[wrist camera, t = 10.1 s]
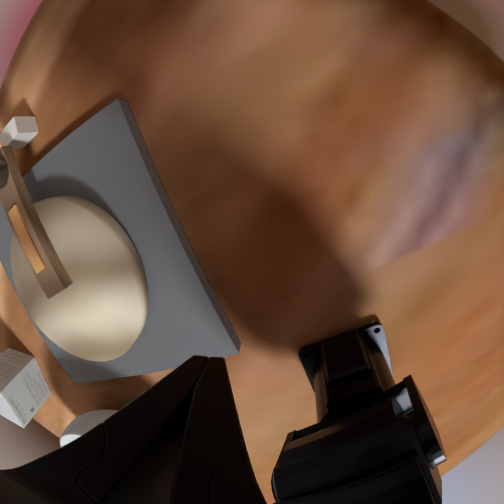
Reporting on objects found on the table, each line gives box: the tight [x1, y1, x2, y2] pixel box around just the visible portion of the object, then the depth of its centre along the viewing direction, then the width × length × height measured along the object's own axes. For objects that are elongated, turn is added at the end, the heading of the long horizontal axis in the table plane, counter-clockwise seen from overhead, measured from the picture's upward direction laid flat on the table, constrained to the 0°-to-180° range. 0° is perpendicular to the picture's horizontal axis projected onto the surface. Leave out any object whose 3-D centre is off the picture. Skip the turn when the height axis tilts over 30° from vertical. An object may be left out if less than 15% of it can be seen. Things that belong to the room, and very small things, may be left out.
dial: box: [0, 146, 149, 361], centre depth 16 cm, size 18×13×8 cm
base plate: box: [0, 99, 241, 384], centre depth 19 cm, size 23×19×2 cm
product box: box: [0, 348, 52, 428], centre depth 24 cm, size 6×6×7 cm
